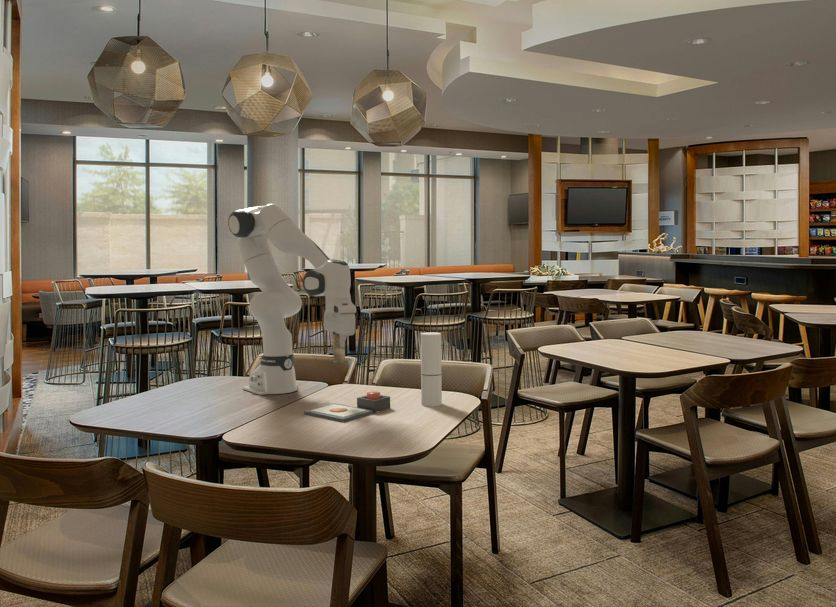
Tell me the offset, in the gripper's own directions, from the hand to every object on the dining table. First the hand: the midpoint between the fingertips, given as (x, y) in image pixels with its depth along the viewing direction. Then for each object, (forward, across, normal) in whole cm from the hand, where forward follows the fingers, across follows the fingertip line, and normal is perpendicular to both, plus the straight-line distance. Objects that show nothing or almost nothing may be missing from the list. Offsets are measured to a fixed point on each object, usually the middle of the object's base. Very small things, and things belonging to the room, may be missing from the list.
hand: (338, 345), depth 232 cm
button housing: (+21, +12, +7) cm, 25 cm away
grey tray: (+21, +12, -6) cm, 25 cm away
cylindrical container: (+21, +17, +28) cm, 38 cm away
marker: (+6, 0, 0) cm, 6 cm away
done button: (+18, +12, +7) cm, 23 cm away
